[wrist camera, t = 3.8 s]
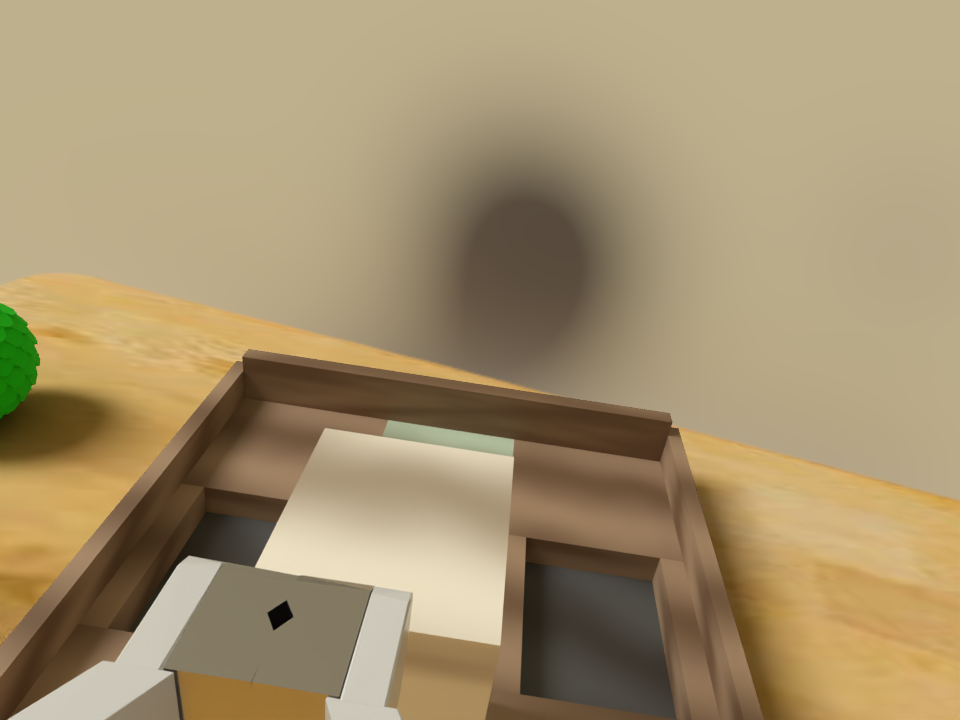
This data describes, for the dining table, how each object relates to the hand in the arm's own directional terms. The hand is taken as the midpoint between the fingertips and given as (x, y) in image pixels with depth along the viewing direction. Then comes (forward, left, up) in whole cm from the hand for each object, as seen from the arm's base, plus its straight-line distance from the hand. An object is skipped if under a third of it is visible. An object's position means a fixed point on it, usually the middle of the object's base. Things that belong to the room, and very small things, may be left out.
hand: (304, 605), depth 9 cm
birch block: (+6, -4, -17) cm, 19 cm away
